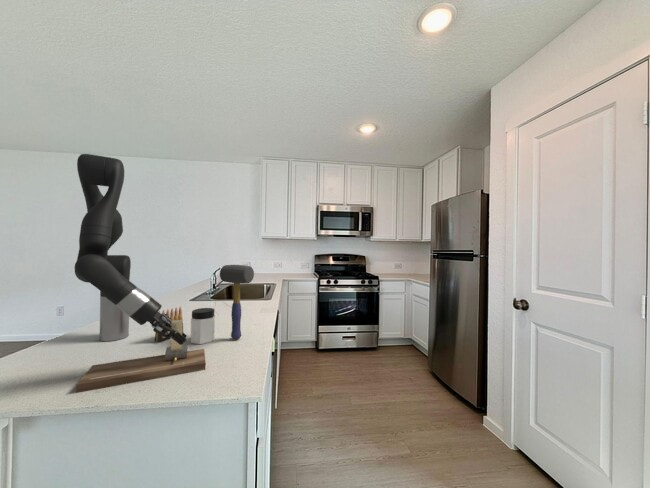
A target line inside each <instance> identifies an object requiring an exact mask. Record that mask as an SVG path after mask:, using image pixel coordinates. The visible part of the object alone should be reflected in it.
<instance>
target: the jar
mask: <svg viewBox="0 0 650 488" xmlns="http://www.w3.org/2000/svg"><path fill="white" fill-rule="evenodd" d="M215 317H216V315H215V308H212V307H200V308H196V309H193V310H192V311H191V319H190V343H191V344H196V345H203V344H208V343H212V342H214V339H215V336H216V335H215V332H216V330H215V329H216V324H215V323H216V320H215V319H216V318H215Z"/></svg>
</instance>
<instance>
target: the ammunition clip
mask: <svg viewBox="0 0 650 488" xmlns="http://www.w3.org/2000/svg"><path fill="white" fill-rule="evenodd" d="M158 312H159V313H161V314H164V313H165V314H167V316H168V317H169V318H170V319H172V320H182V319H183V310H182V307H181V306H179V309H178V307H175V309H174V308H171V309H170V310H169V309H168V308H167V310H166V312H165V310H164V309H163V310H162V312H160V310H159V311H158ZM168 333H169V332H168ZM168 340H171V338H170V339H167V338H165V337H164V336H162V335H160V334H158V333H156V332H155V335H154V343H156V344H159V343H163V342H165V341H168Z"/></svg>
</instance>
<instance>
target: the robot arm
mask: <svg viewBox="0 0 650 488" xmlns="http://www.w3.org/2000/svg"><path fill="white" fill-rule="evenodd" d="M76 166H77V175H78V178H79V182H80V186H81V189H82V193H83V196H84V200H85V204H86V211H87V212H86V213H85V214H84V217H83V218H82V221H81V224H80V231H79V238H78V239H79V240H78V245H79V249H78V253H77V259H76V262H75V263H74V274H75V277H76V278H77V279H78V280H79V281H81V282H84V283H87V284H88V283H89V284H91V285H92V286H94V287H95V288H96V289H98V290H99V291H100V294H99V296H100V298H99V341H101V342H113V341H119V340H122V339H125V338H127V337H129V333H130V332H129V331H130V330H129V329H130V318H131V320H133V321H134V322H135V323H137V324H138V325H140V326H143V325H145V324H146V323H147V322H148V323H149V324H150V326H151V327H152V328H153V332H156V333H158V334H160V335H162V336H164V337H165V338H167V339H169V340H171V339H170V338H172V339H173V340H175V341H176V342H177V343H179V344H180V345H184V343H185V342H186V341H187V334H186V333H184V331H183V332H182V335H181V334H180V333H178V332H177V331H176V330H175V329H174V328H172V324H171V323H172V319H170V318H169V317H168V316H167V314H166V312H165V313H164V314H162V312H160V313H159V311H160V310H161V309H162V304H161V303H160V302H158V301H157V300H155V299H154V298H153V297H152V296H150V294H148V293H147V292H146V291H144V290H142V289H141V288H139V287H138V286H137V285H135V284H134V283H133V282H131V281H130V277H131V269H132V267H131V265H132V264H131V257H130V256H129V255H128V254H127V255H126V254H114V255H112V254H109V252H108V251H109V250H110V249H111V248H112V247H113V245H115V244H116V243H117V241H118V240H120V238H121V237H122V235H123V233H124V225H123V218H122V217H123V216H122V215H121V213H120V212H119V210H118V209H117V208H118V205H119V200H120V197H121V193H122V189H123V185H124V182H125V166H124V163H123V162H122V160H121V159H119V158H115V157H109V156H103V155H98V154H90V153H81V154H80V155H79V156H78V158H77V162H76ZM99 186H100V187H107V189H106V190H107V191H106V193H105V194H104V195H103V194H102V192H101V190H100V188H99ZM168 332H169V333H168Z"/></svg>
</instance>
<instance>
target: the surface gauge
mask: <svg viewBox="0 0 650 488" xmlns="http://www.w3.org/2000/svg"><path fill="white" fill-rule="evenodd" d="M183 321H184V319H183V318H182V320H172V323H171V324H172V328H174V329H175V330H176V331H177V332H178V333H180V334H181V335H182V332H183V333H184V323H183ZM187 351H188V344H182V345H180V344H179V343H177V342H176V341H175V340H173V339H172V338H171V339H170V346H168V347H166V348H165V352H164V355H165V361H167V360H173V359H174V361H176V359H180V358H186V357H187Z"/></svg>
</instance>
